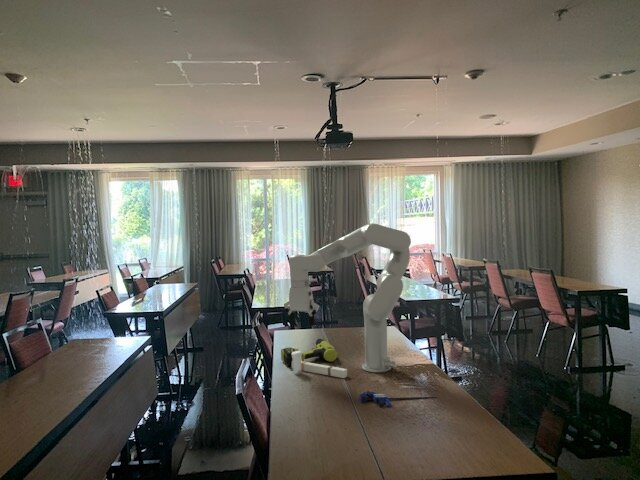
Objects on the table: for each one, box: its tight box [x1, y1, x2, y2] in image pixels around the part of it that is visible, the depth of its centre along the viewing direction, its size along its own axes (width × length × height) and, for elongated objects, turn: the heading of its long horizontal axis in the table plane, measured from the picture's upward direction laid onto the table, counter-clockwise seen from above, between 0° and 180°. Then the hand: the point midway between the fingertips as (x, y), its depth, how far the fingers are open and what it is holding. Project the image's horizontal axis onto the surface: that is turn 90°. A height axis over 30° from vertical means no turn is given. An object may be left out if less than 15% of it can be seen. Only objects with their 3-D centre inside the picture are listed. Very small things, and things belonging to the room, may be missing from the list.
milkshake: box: [290, 347, 303, 375], centre depth 185 cm, size 4×5×10 cm
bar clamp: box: [359, 390, 436, 408], centre depth 153 cm, size 32×2×10 cm
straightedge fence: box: [291, 360, 348, 379], centre depth 185 cm, size 26×3×3 cm, turn 58°
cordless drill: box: [280, 338, 338, 368], centre depth 206 cm, size 7×25×25 cm
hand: (302, 324), depth 186 cm, fingers open, 9 cm apart
